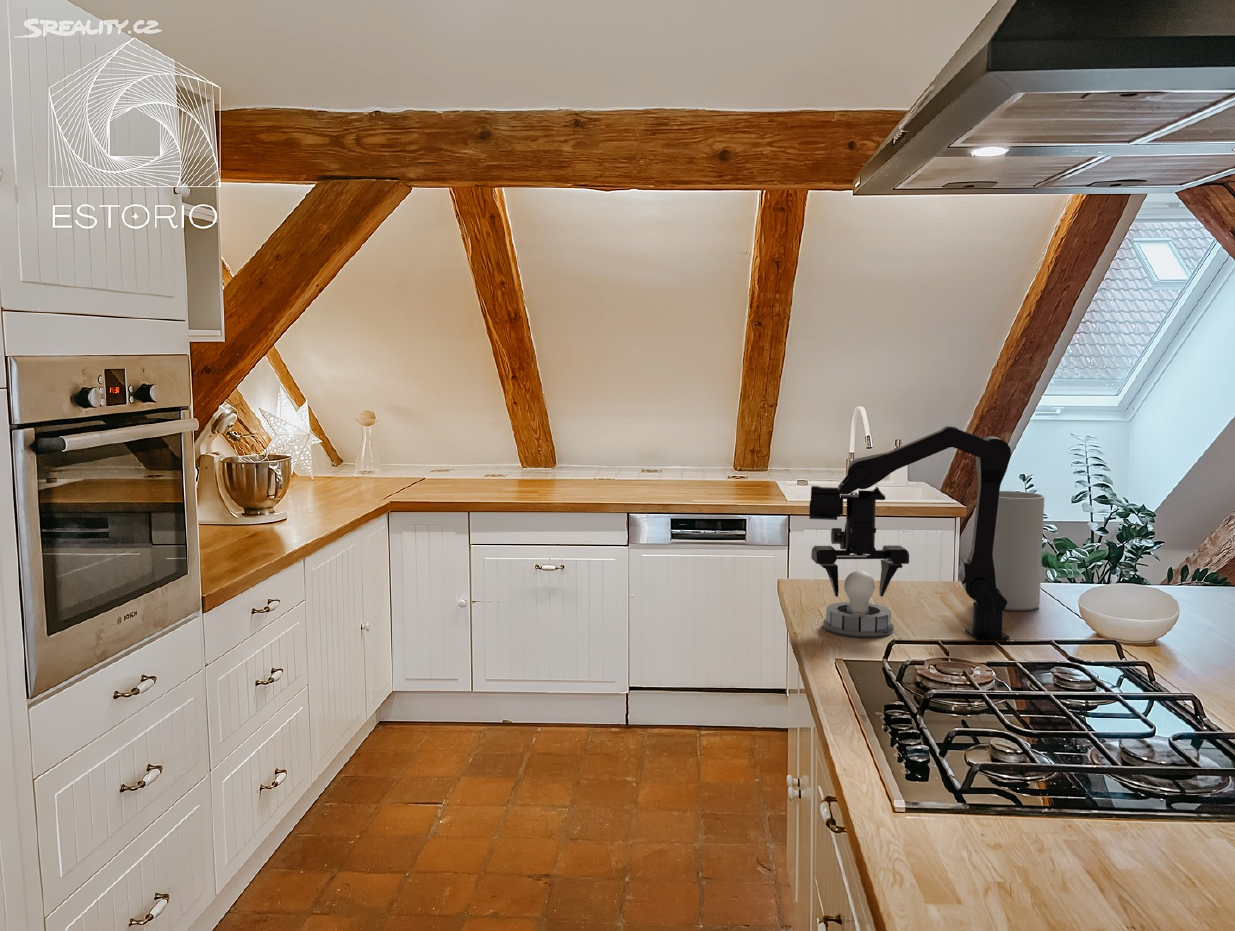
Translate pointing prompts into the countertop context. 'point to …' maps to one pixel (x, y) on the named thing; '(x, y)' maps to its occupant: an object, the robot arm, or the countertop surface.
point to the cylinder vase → (1019, 548)
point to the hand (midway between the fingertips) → (858, 596)
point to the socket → (858, 621)
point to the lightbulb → (859, 591)
